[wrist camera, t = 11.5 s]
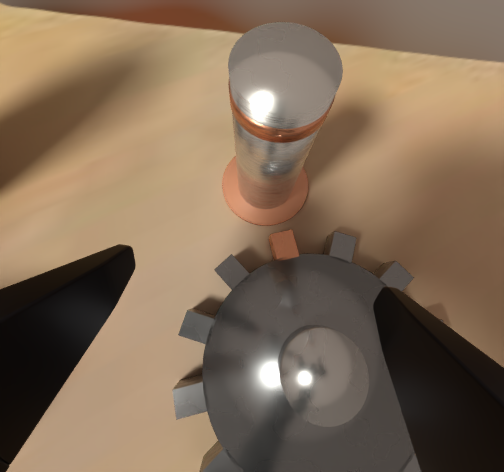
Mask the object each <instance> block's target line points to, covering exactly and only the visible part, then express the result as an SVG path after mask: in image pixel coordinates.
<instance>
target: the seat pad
mask: <svg viewBox="0 0 504 472" xmlns="http://www.w3.org/2000/svg"><path fill="white" fill-rule="evenodd" d="M222 186H223V193H224V197H225V199H226V202H227V203H228V205H229V207H230V208H231V209H232V211H233V212H234V213H235V214H236V215H238V216H239V217H240V218H242V219H243V220H245V221H247V222H250V223H253V224H256V225H267V226H268V225H276V224H280V223H282V222H285V221H287V220H288V219H290V218H291V217H293V216H294V215H295V214H296V213H297V212H298V211H299V210H300V209H301V207H302V206H303V204H304V202H305V200H306V197H307V193H308V179H307V175H306V172H305V170H304V168H303V167H302V169H301V172H300V174H299V176H298V178H297V181H296V183H295V185H294V187H293V189H292V192H291V194H290V196H289V198H288V199H287V200H286V201H285V202H284V203H283V204H282V205H280V206H278V207H276V208H273V209H259V208H255V207H253V206H251V205H250V204H248V203H247V202H246V201H245V200H244V199H243V197H242V196H241V194H240V191H239V187H238V175H237V163H236V156H235V157H234V158H233V159H232V160H231V161H230V162H229V164H228V165H227V167H226V169H225V172H224V175H223V182H222Z"/></svg>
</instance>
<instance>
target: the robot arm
mask: <svg viewBox="0 0 504 472" xmlns="http://www.w3.org/2000/svg"><path fill="white" fill-rule="evenodd" d="M134 270H135V259H134V253H133V249H132V247H131V246H128V245H121V244H119V245H116V246H113V247H111V248H108V249H105V250H103V251H100V252H97V253H95V254H92V255H90V256H87V257H84V258H82V259H79V260H76V261H74V262H71V263H69V264H66V265H63V266H61V267H58V268H55V269H53V270H50V271H48V272H45V273H42V274H40V275H37V276H34V277H32V278H29V279H27V280H24V281H21V282H19V283H16V284H13V285H11V286H8V287H5V288H3V289H0V472H6V471H7V469H8V468H9V465H10V464H11V463H12V461H13V460H14V458H15V457H16V455H17V454H18V452H19V451H20V449H21V448H22V446H23V445H24V443H25V442H26V440H27V439H28V437H29V436H30V434H31V433H32V431H33V430H34V428H35V427H36V425H37V424H38V422H39V421H40V419H41V418H42V416H43V415H44V413H45V412H46V410H47V409H48V407H49V406H50V404H51V403H52V401H53V400H54V398H55V397H56V395H57V394H58V392H59V391H60V389H61V388H62V386H63V385H64V383H65V382H66V380H67V379H68V377H69V376H70V374H71V373H72V371H73V370H74V368H75V367H76V365H77V364H78V362H79V361H80V359H81V358H82V356H83V355H84V353H85V352H86V350H87V349H88V347H89V346H90V344H91V343H92V341H93V340H94V338H95V337H96V335H97V334H98V332H99V331H100V329H101V328H102V326H103V325H104V323H105V322H106V320H107V319H108V317H109V316H110V314H111V313H112V311H113V309H114V308H115V306H116V304H117V303H118V301H119V299H120V297H121V295H122V293H123V291H124V289H125V287H126V286H127V284H128V282H129V280H130V278H131V276H132V274H133V272H134ZM373 310H374V315H375V320H376V325H377V329H378V334H379V339H380V344H381V348H382V352H383V355H384V358H385V361H386V365H387V368H388V371H389V374H390V377H391V380H392V383H393V386H394V389H395V393H396V396H397V399H398V402H399V405H400V408H401V411H402V414H403V417H404V421H405V424H406V427H407V430H408V433H409V436H410V439H411V442H412V446H413V449H414V452H415V455H416V458H417V461H418V464H419V467H420V470H421V472H504V368H503V367H502V366H500V365H499V364H498V363H496V362H495V361H494V360H492V359H491V358H490V357H488V356H487V355H486V354H484V353H483V352H482V351H480V350H479V349H478V348H476V347H475V346H474V345H472V344H471V343H470V342H468V341H467V340H466V339H464V338H463V337H462V336H460V335H459V334H458V333H456V332H455V331H454V330H452V329H451V328H450V327H448V326H447V325H446V324H444V323H443V322H442V321H440V320H439V319H438V318H436V317H435V316H434V315H432V314H431V313H430V312H428V311H427V310H426V309H424V308H423V307H422V306H420V305H419V304H418V303H416V302H415V301H414V300H412V299H411V298H410V297H408V296H407V295H406V294H404V293H403V292H402V291H400V290H399V289H397V288H394V287H387V286H385V287H383V288H382V289H381V291H380V292H379V294H378V296H377V298H376V299H375V301H374V304H373Z"/></svg>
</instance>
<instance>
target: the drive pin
mask: <svg viewBox="0 0 504 472" xmlns="http://www.w3.org/2000/svg"><path fill="white" fill-rule="evenodd" d="M228 68H229V94H230V105H231V109H232V116H233V128H234V139H235V151H236V163H237V175H238V187H239V191H240V194H241V196H242V197H243V199H244V200H245V201H246V202H247V203H248V204H250V205H251V206H253V207H255V208H259V209H273V208H276V207H278V206H280V205H282V204H283V203H284V202H285V201H286V200H287V199H288V198H289V196H290V194H291V192H292V189H293V187H294V185H295V183H296V181H297V178H298V176H299V174H300V172H301V169H302V167H303V165H304V163H305V161H306V158H307V156H308V154H309V152H310V150H311V147H312V145H313V143H314V141H315V138H316V136H317V134H318V132H319V130H320V127H321V125H322V124H323V122H324V121H325V119H326V117H327V115H328V112H329V110H330V108H331V106H332V104H333V101H334V98H335V94H336V92H337V90H338V87H339V85H340V83H341V79H342V73H343V69H342V62H341V58H340V56H339V53H338V52H337V50H336V48H335V47H334V46H333V44H332V43H331V42H330V41H329V40H328V39H327V38H326V37H324V36H323V35H322V34H320V33H319V32H317V31H315V30H313V29H311V28H309V27H307V26H303V25H300V24H296V23H289V22H275V23H268V24H264V25H261V26H258V27H256V28H254V29H252V30H250V31H248V32H247V33H245V34H244V35H243V36H242V37H241V38H240V39H239V40H238V41H237V42H236V43H235V45H234V47H233V48H232V51H231V53H230V56H229V63H228Z"/></svg>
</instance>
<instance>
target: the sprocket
mask: <svg viewBox="0 0 504 472" xmlns="http://www.w3.org/2000/svg"><path fill="white" fill-rule="evenodd" d="M269 242H270V246H271V250H272V254H273V258H274V261H271V262H269V263H267V264H265V265H263V266H261V267H259V268H257V269H256V270H254V271H253V272H252V273H250V274H249V273H248V272H247V270H246V269H245V268H244V267H243V266H242V265H241V264H240V263H239V262H238V261H237V259H236V258H235V257H234V256H233V255H232V254H231V255H230V256H229V257H228V258H227V259H226V260H225V261H223V262H222V263H221V264H220V265H219V266H218V267H217V268H216V269H215V271H216V272H217V274H218V275H219V276H220V277H221V278H222V279H223V280H224V281H225V283H226V284H227V285H228V286H229V287H230V288H231V289H232V291H231V292H230V293H229V295H228V296H227V297H226V298H225V300H224V302H223V303H222V305H221V306H220V308H219V310H218V312H217V314H216V316H215V315H212V314H208V313H205V312H202V311H199V310H196V309H193V308H192V309H189V310H187V312H186V315H185V318H184V321H183V323H182V326H181V329H180V332H179V334H178V335H179V336H182V337H185V338H188V339H191V340H194V341H198V342H201V343H204V344H206V345H205V350H204V356H203V370H202V375H199V376H195V377H191V378H187V379H183V380H180V381H179V382H178V383H177V385H176V386H175V387H174V389H173V397H174V405H175V412H176V420H177V419H180V418H184V417H188V416H191V415H195V414H199V413H202V412H206V411H207V412H208V415H209V418H210V422H211V425H212V427H213V429H214V432H215V434H216V436H217V439H218V442H217V443H216V444H215V445H214V446H213V447H212V448H211V449H210V450H209V451H208V452H207V453H206V455H205V456H204V457H203V460H202V464H201V468H200V472H421V470H420V467H419V464H418V461H417V458H416V455H415V452H414V449H413V446H412V442H411V439H410V436H409V433H408V430H407V427H406V424H405V421H404V417H403V414H402V411H401V408H400V405H399V402H398V399H397V396H396V393H395V389H394V386H393V383H392V380H391V377H390V374H389V371H388V368H387V365H386V361H385V358H384V355H383V352H382V348H381V344H380V339H379V334H378V329H377V325H376V320H375V315H374V310H373V304H374V301H375V299H376V298H377V296H378V294H379V292H380V291H381V289H382V288H383V287H385V286H387V287H394V288H397V289H399V290H400V291H403V290H404V288H405V287H406V286H407V285H408V284H409V283H410V282H411V280H412V279H413V278H414V277H413V276H412V275H411V274H409V273H408V272H407V271H406V270H405V269H404V268H403V267H402V266H401V265H400V264H399V263H398V262H397V261H393V262H387V263H383V264H382V265H381V267H380V268H379V269H378V270H377V271H376V272H375V273H374V274H372V273H371V272H369V271H367V270H366V269H364V268H362V267H360V266H359V265H356V264H354V263H352V258H353V253H354V248H355V243H356V237H353V236H349V235H346V234H343V233H339V232H336V231H335V232H333V233H332V234H330V235H329V236H328V237H327V241H326V245H325V250H324V254H299V253H298V249H297V245H296V242H295V238H294V235H293V231H292V230H287V231H283V232H278V233H274V234H270V237H269ZM439 320H440V321H442V322H443V320H441V319H439Z"/></svg>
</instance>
